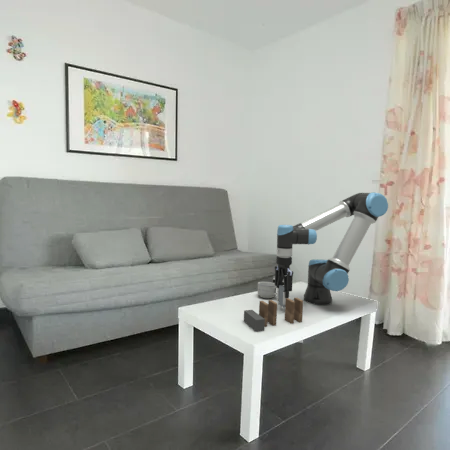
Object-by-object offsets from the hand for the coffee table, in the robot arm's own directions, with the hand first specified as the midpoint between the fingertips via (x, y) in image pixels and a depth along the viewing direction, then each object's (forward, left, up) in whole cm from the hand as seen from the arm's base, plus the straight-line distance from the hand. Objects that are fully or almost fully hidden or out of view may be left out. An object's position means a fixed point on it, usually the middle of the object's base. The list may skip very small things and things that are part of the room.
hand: (282, 302), depth 167 cm
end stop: (+23, +14, -4) cm, 27 cm away
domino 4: (+5, +14, -4) cm, 15 cm away
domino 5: (0, +14, -4) cm, 15 cm away
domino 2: (+14, +14, -4) cm, 20 cm away
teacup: (-4, -20, -4) cm, 21 cm away
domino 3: (0, 0, -2) cm, 2 cm away
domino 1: (+18, +14, -4) cm, 23 cm away
